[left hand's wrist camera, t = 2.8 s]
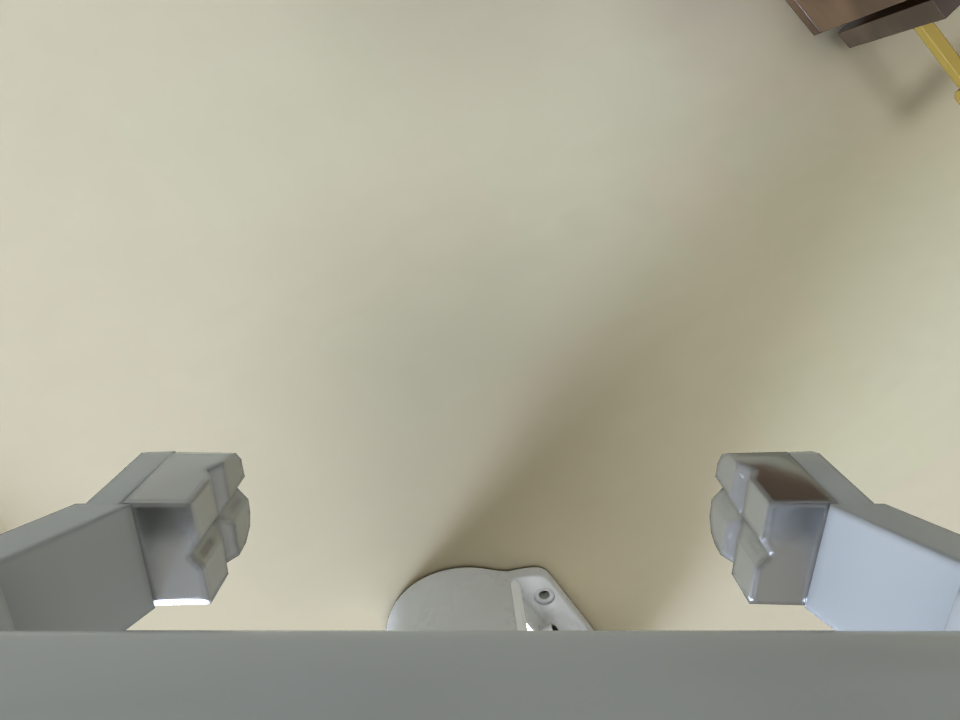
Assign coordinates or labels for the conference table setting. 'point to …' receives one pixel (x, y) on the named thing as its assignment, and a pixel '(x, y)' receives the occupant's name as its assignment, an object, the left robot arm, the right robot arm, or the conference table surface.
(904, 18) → the drawer
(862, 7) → the cabinet
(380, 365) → the conference table surface
